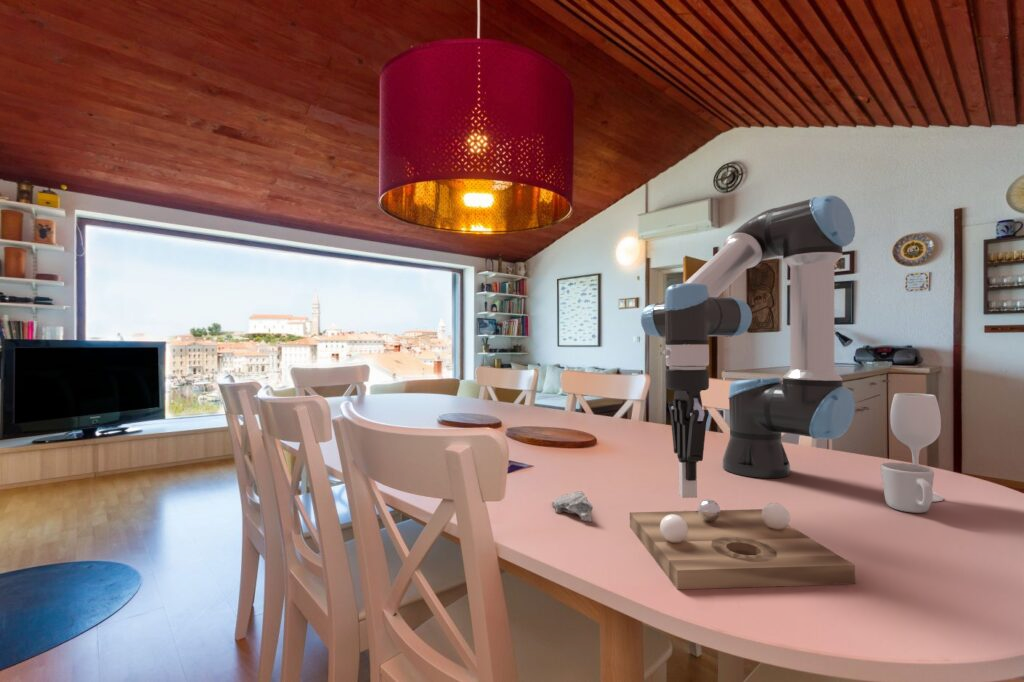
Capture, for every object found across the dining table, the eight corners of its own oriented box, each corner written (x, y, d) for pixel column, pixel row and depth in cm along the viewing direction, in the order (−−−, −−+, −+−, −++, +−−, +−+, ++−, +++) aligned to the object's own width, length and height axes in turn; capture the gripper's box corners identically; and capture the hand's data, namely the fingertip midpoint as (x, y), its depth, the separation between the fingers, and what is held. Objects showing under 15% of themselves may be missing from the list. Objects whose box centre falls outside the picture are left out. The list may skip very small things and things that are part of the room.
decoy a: (756, 524, 80) (756, 499, 80) (780, 523, 80) (780, 499, 80) (770, 533, 76) (770, 508, 76) (795, 533, 76) (795, 507, 76)
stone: (559, 527, 87) (559, 504, 87) (549, 503, 100) (549, 482, 99) (594, 526, 88) (595, 503, 88) (580, 502, 100) (580, 482, 100)
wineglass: (893, 486, 108) (891, 391, 108) (945, 495, 102) (944, 394, 102) (886, 495, 102) (884, 394, 102) (941, 505, 96) (940, 397, 96)
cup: (955, 523, 86) (955, 477, 86) (904, 520, 88) (903, 475, 88) (918, 503, 97) (917, 463, 97) (872, 501, 98) (872, 461, 98)
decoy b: (656, 536, 75) (656, 510, 75) (682, 536, 75) (681, 510, 75) (665, 547, 71) (665, 520, 71) (692, 547, 71) (692, 519, 71)
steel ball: (694, 517, 83) (694, 496, 83) (714, 517, 83) (714, 496, 83) (703, 525, 80) (703, 503, 80) (724, 524, 80) (724, 503, 80)
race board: (629, 526, 86) (629, 512, 86) (763, 523, 87) (762, 509, 87) (677, 589, 64) (677, 570, 64) (855, 583, 65) (854, 564, 65)
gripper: (655, 366, 96) (656, 486, 96) (680, 370, 83) (681, 508, 83) (692, 366, 97) (693, 485, 96) (723, 369, 84) (724, 507, 83)
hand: (688, 496), depth 90 cm, fingers closed
